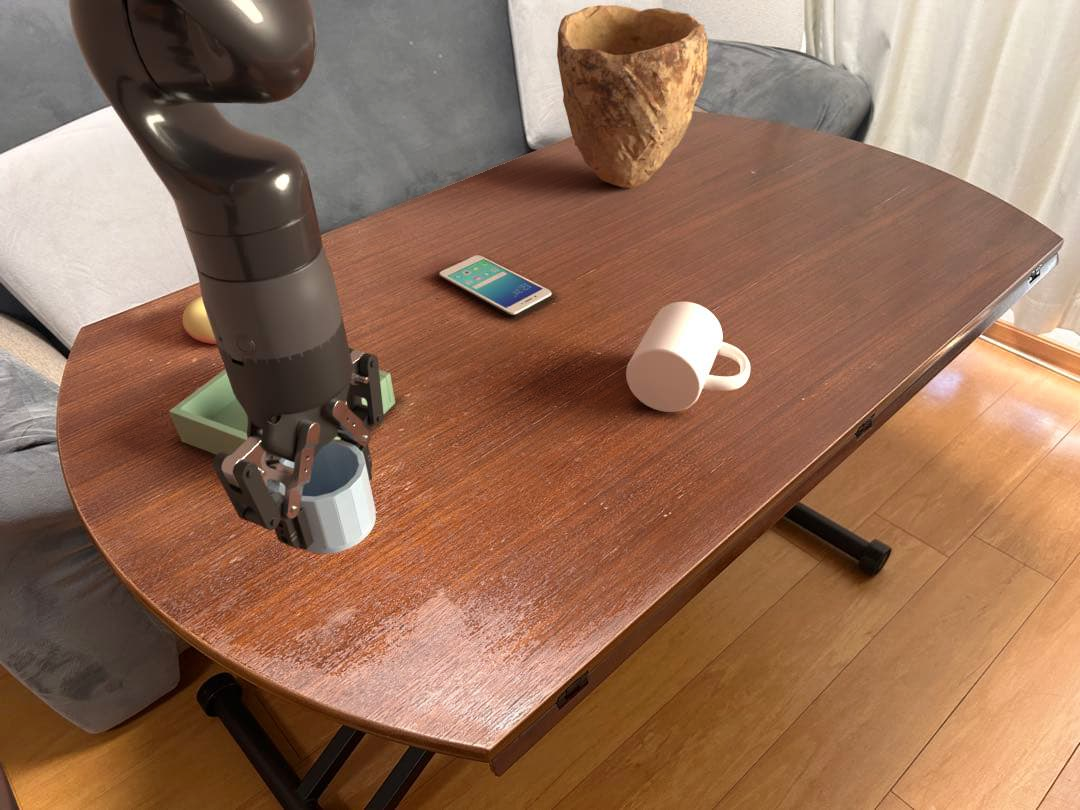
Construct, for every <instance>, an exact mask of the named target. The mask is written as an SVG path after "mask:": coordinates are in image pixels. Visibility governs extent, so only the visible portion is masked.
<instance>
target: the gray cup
mask: <svg viewBox="0 0 1080 810" xmlns="http://www.w3.org/2000/svg"><path fill="white" fill-rule="evenodd" d="M279 461H280V463H281V464H283V465H286V466H289V467H291V468H294V463H295V462H291V461H289V460H286V459H283V458H281V459H280V460H279ZM370 482H371V481H370ZM370 482H369V477H368V472H367V468H366V463H365V459H364V455H363V453H362V452H361V451H360V450H359V449H358V448H357V447H356V446H355V445H354V444H351V443H348V442H346V441H343V440H339V439H333V440H332V441H331V442H330V443H328V444H326V445H324V446H323V447H322V448H321V450H320V451H319V453H318V454H317V455H316V456H315V457H314V458H313V464H312V472H311V479H310V482H309V483H307V484H305V485H304V486H303V492H302V499H301V507H300V508H303V509H304V512H305V515H306V519H307V522H308V525H309V529H310V532H311V535H312V539H313V543H312V544H311V545H310V546H309V547H308V548H307V549H306V550H304V551H305V552H307V553H310V554H314V555H332V554H338V553H341V552H345V551H346V550H349V549H352V548H353V547H355V546H357V545H358V544H361V542H362V541H364V540H365V539H366V538H367V537H368V536H369V535H370V533H371V532H372V530H373V529H374V526H375V524H376V521H377V520H376V519H377V509H376V505H375V501H374V496H373V492H372V487H371V483H370ZM279 494H281V495H284V496H285V485H284V484H283V483H280V486H279Z"/></svg>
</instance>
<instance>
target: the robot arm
mask: <svg viewBox="0 0 1080 810" xmlns="http://www.w3.org/2000/svg"><path fill="white" fill-rule="evenodd" d="M68 7H69V15H70V22H71V26H72V31H73V33H74V38H75V40H76V43H77V46H78V49H79V51H80V53H81V55H82V57H83V60H84V61H85V64H86V66H87V68H88V70H89V72H90V74H91V75H92V77H93V78H94V80H95V82H96V84H97V85H98V88H99V89H100V90H101V92H102V93H103V96H104V97H105V98H106V100H107V101H108V103H109V104H110V106H111V107H112V109H113V111H114V112H115V113H116V115H117V116H118V118H119V119H120V120H121V122H122V124H123V125H124V127H125V129H126V130H127V131H128V133H129V134H130V136H131V137H132V138H133V140H134V142H135V143H136V145H137V146H138V149H140V151H141V153H142V154H143V156H144V157H145V159H146V160H147V162H148V163H149V165H150V167H151V168H152V169H153V172H154V173H155V174H156V175H157V177H158V178H159V179H160V181H161V182H162V184H163V185H164V187H165V188H166V190H167V192H168V193H169V195H170V197H171V198H172V201H173V203H174V205H175V208H176V211H177V214H178V218H179V220H180V223H181V226H182V230H183V232H184V235H185V239H186V241H187V245H188V247H189V250H190V253H191V256H192V260H193V262H194V265H195V269H196V273H197V277H198V282H199V289H200V294H201V295H200V296H202V300H203V303H204V307H205V310H206V313H207V316H208V319H209V322H210V325H211V328H212V331H213V334H214V337H215V340H216V343H217V344H216V345H217V348H218V352H219V354H220V357H221V360H222V363H223V366H224V369H226V372H227V375H228V378H229V381H230V384H231V387H232V390H233V393H234V395H235V397H236V399H237V400H238V402H239V403H240V405H241V406H242V407H243V409H244V411H245V412H246V414H247V417H248V426H247V438H248V439H247V440H246V441H245V442H244V443H243V444H242V445H241V446H240V447H239V448H238V449H237V450H236V451H235V452H234V453H233V454H228V453H226V452H220V453H218V454H217V455H216V454H215V456H214V457H213V459H212V464H211V465H212V469H213V470H214V473H215V475H216V476H217V478H218V480H219V481H220V484H221V485H222V488H223V489H224V491H225V493H226V495H227V497H228V499H229V501H230V503H231V504H232V507H233V508H234V510H235V512H236V514H237V515H238V517H239V519H240V520H244V521H245V522H250V523H253V524H255V525H257V526H260V527H262V528H263V529H266V530H268V531H274V532H275V534H276V538H277V540H278V541H279V542H280V543H282V544H284V545H286V546H288V547H290V548H293V549H295V550H298V549H300V550H303V551H305V550H306V549H307V548H308V547H309V546H310V545H311V544H312V543H313V539H312V535H311V532H310V529H309V525H308V522H307V519H306V515H305V512H304V509H303V508H300V507H301V499H302V492H303V486H304V485H305V484H307V483H309V482H310V479H311V472H312V464H313V458H314V457H315V456H316V455H317V454H318V453H319V451H320V450H321V448H322V447H323V446H324V445H326V444H328V443H330V442H331V441H332V440H333V439H334V438H335V437H338V438H341V439H340V440H343V441H346V442H348V443H351V444H354V445H355V446H356V447H357V448H358V449H359V450H360V451H361V452H362V453H363V455H364V459H365V463H366V468H367V472H368V477H369V482H371V481H372V480H373V475H372V470H373V462H372V461H373V460H372V456H371V452H370V448H369V443H370V441H371V438H372V433H371V430H372V428H373V426H380V425H381V424H382V422H383V421H384V417H385V414H384V412H383V403H382V394H381V384H380V375H379V370H380V367H379V366H380V365H379V359H378V356H377V355H375V354H372V353H368V352H365V351H362V350H358V349H356V348H352V347H349V341H348V336H347V332H346V328H345V327H346V326H345V323H344V322H345V321H344V317H343V313H342V308H341V304H340V299H339V293H338V289H337V284H336V280H335V276H334V272H333V269H332V267H331V265H330V262H329V259H328V256H327V254H326V251H325V247H324V244H323V239H322V234H321V229H320V225H319V221H318V216H317V211H316V206H315V202H314V199H313V193H312V187H311V183H310V179H309V174H308V172H307V168H306V166H305V164H304V161H303V160H302V158H301V156H300V154H299V153H298V152H297V151H296V150H295V149H293V148H292V147H290V146H289V145H287V144H285V143H283V142H281V141H278V140H276V139H272V138H269V137H265V136H262V135H258V134H255V133H251V132H248V131H245V130H244V129H241V128H239V127H237V126H235V125H234V124H232V123H231V122H229V121H228V119H227V118H226V117H225V116H224V115H223V114H222V113H221V111H220V110H219V109H218V108H217V106H216V105H215V104H235V105H237V104H238V105H239V104H240V105H266V104H272V103H278V102H281V101H284V100H286V99H288V98H291V97H292V96H293V95H294V94H296V93H297V92H298V91H299V90H300V89H302V88H303V86H304V85H305V83H306V82H307V80H308V78H309V77H310V75H311V73H312V71H313V68H314V64H315V61H316V57H317V50H318V31H317V30H318V29H317V23H316V17H315V13H314V9H313V5H312V2H311V0H68ZM361 397H362V398H364V399H365V400H366V401H367V405H364V404H362V398H361ZM346 402H347V405H346ZM278 457H280V458H283V459H286V460H289V461H291V462H295V463H294V468H291V467H289V466H286V465H283V464H281V463H280V461H279V459H278ZM280 483H283V484H284V485H285V496H284V495H281V494H279V486H280ZM0 810H21V808H20V807H19V804H18V801H17V799H16V796H15V793H14V791H13V789H12V786H11V784H10V781H9V779H8V776H7V773H6V771H5V768H4V766H3V764H2V761H1V760H0Z"/></svg>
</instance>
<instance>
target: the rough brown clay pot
mask: <svg viewBox="0 0 1080 810" xmlns="http://www.w3.org/2000/svg"><path fill="white" fill-rule="evenodd" d="M556 48H557V49H556V57H557V64H558V71H559V76H560V82H561V86H562V92H563V93H562V94H563V96H562V103H563V106H564V109H565V114H566V117H567V120H568V121H567V122H568V126H569V129H570V133H571V137H572V138H573V140H574V146H576V147H577V149H578V151H579V152H580V154H581V157H582V159H583V161H584V163H585V164H586V165H587V166H588V167H589V168H590V169H591V171H592V172H593V173H594V174H595V175H596V176H597V177H598V178H599V180H601V181H603V182H605V183H609V184H611V185H613V186H617V187H619V188H622V189H625V188H626V189H628V188H631V189H633V188H635V187H639V186H640V185H642V184H644V183H646V182H648V181H649V179H650V178H651V177H652V176H653V174H654V173H655V172H657V171H658V170H659V169H660V168H661V167H662V166H663V165H664V163H665V161H666V159H667V158H669V156H670V154H671V153H672V152H673V150H674V149H676V147H678V145H679V144H680V142H681V141H682V139H683V138H684V136H685V134H686V132H687V130H688V128H689V125H690V123H691V121H692V120H693V110H694V106H695V105H696V102H697V99H698V98H699V95H700V92H701V89H702V87H703V84H704V82H705V80H706V74H707V67H708V66H707V65H708V56H709V38H708V35H707V32H706V27H705V24H702V23H700V22H699V21H698V20H697V19H696V18H695V17H694V16H692V15H691V14H690V13H688V12H687V13H685V12H681V11H675V10H670V9H665V8H662V7H655V8H647V9H643V10H640V9H637V8H632V7H628V6H623V5H618V4H617V5H615V4H614V5H602V4H599V5H593V6H587V7H584V8H582V9H580V10H578V11H575V12H572V13H569V14H566V15H564V16H563V18H562V19H561V20H560V23H559V26H558V31H557V47H556Z"/></svg>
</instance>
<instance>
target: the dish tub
mask: <svg viewBox="0 0 1080 810" xmlns="http://www.w3.org/2000/svg"><path fill="white" fill-rule="evenodd" d="M379 375H380V384H381V394H382V403H383V412H384V415H385V414H386V413H387V412H388V411H389V410H390V409H391V408H392V407H393V406H394V405H395V404H396V399H395V394H394V389H393V388H394V387H393V383H392V377H391V373H390V372H387V371H385V370H381V369H379ZM361 398H362V397H361ZM362 404H364V405H367V401H366V400H365V399H364V398H362ZM168 413H169V416H170V417H171V420H172V423H173V425H174V427H175V430H176V432H177V434H178V436H179V439H180V441H181V442H182V443H184V444H187V445H190V446H192V447H195V448H197V449H200V450H203V451H205V452H207V453H211V454H213V455H215V456H216V455H217V454H218V453H220V452H226V453H228V454H233V453H234V452H235V451H236V450H237V449H238V448H239V447H240V446H241V445H242V444H243V443H244V442H245V441H246V440H247V439H248V438H247V426H248V417H247V414H246V412H245V411H244V409H243V407H242V406H241V405H240V403H239V402H238V400H237V399H236V397H235V395H234V393H233V390H232V387H231V384H230V381H229V378H228V375H227V372H226V369H225V368H224V369H223V370H221V371H220V372H219V373H217V374H216V375H215V376H214V377H212V378H211V379H209V380H208V381H207V382H206V383H204V384H203V385H201V386H200V387H199V388H197V389H196V390H195V391H194V392H192V393H190V394H189V395H188V396H187V397H185V398H184V399H183V400H182V401H180V402H179V403H177V404H176V405H174V407H172V408H170V410H168ZM334 439H339V440H340V439H341V438H338V437H335V438H334ZM278 459H279V460H280V459H281V458H280V457H278Z"/></svg>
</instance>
